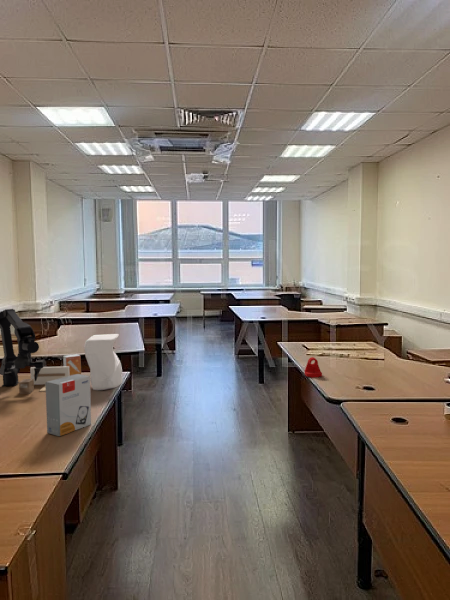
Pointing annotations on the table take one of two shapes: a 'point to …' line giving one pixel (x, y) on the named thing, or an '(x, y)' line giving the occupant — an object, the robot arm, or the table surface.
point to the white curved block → (103, 362)
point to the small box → (73, 363)
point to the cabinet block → (26, 386)
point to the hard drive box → (68, 404)
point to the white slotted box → (49, 374)
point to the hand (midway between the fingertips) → (26, 381)
